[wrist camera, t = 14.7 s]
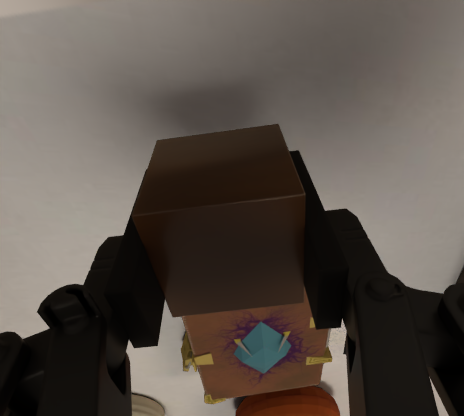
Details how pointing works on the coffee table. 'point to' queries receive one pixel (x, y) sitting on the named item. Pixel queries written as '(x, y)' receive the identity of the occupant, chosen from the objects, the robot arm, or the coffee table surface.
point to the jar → (145, 407)
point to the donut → (290, 403)
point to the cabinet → (461, 277)
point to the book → (255, 350)
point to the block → (224, 221)
